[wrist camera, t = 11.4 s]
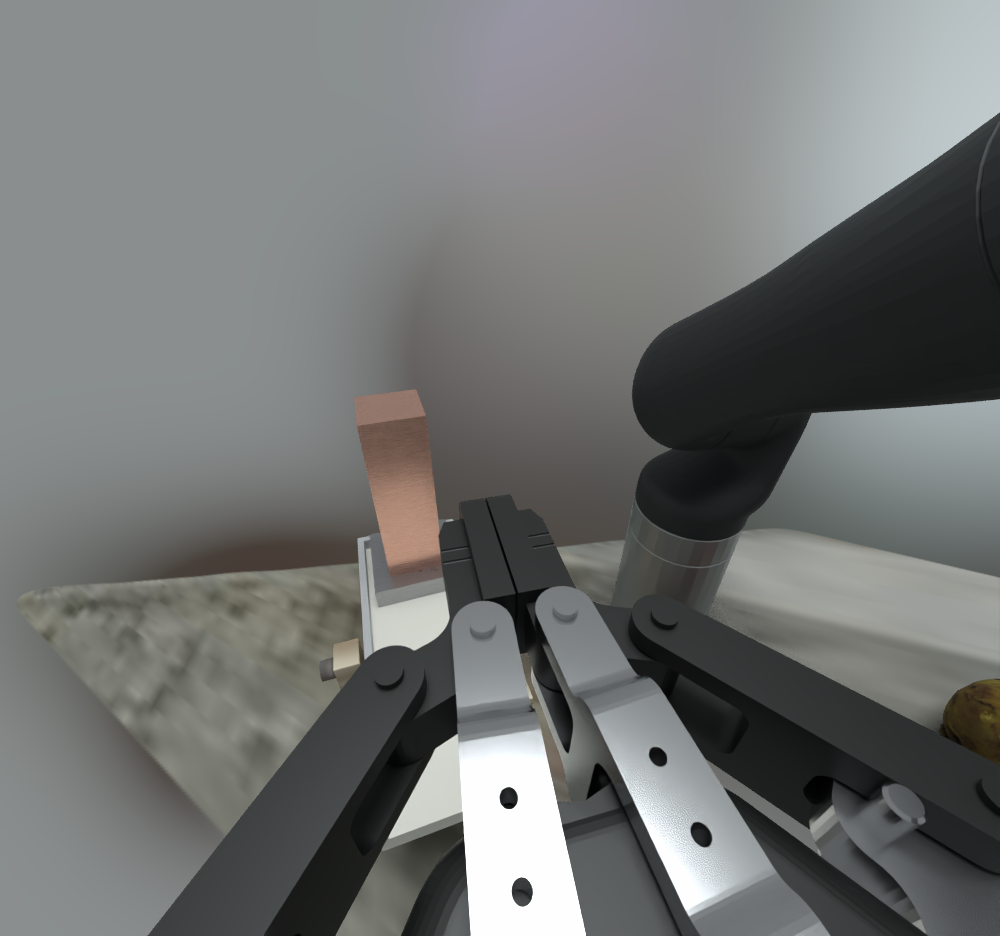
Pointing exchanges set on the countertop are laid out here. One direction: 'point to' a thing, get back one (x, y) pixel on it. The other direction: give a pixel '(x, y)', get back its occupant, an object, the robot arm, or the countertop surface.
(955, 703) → the potato
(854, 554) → the countertop surface
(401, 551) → the block
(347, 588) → the countertop surface
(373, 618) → the beam
